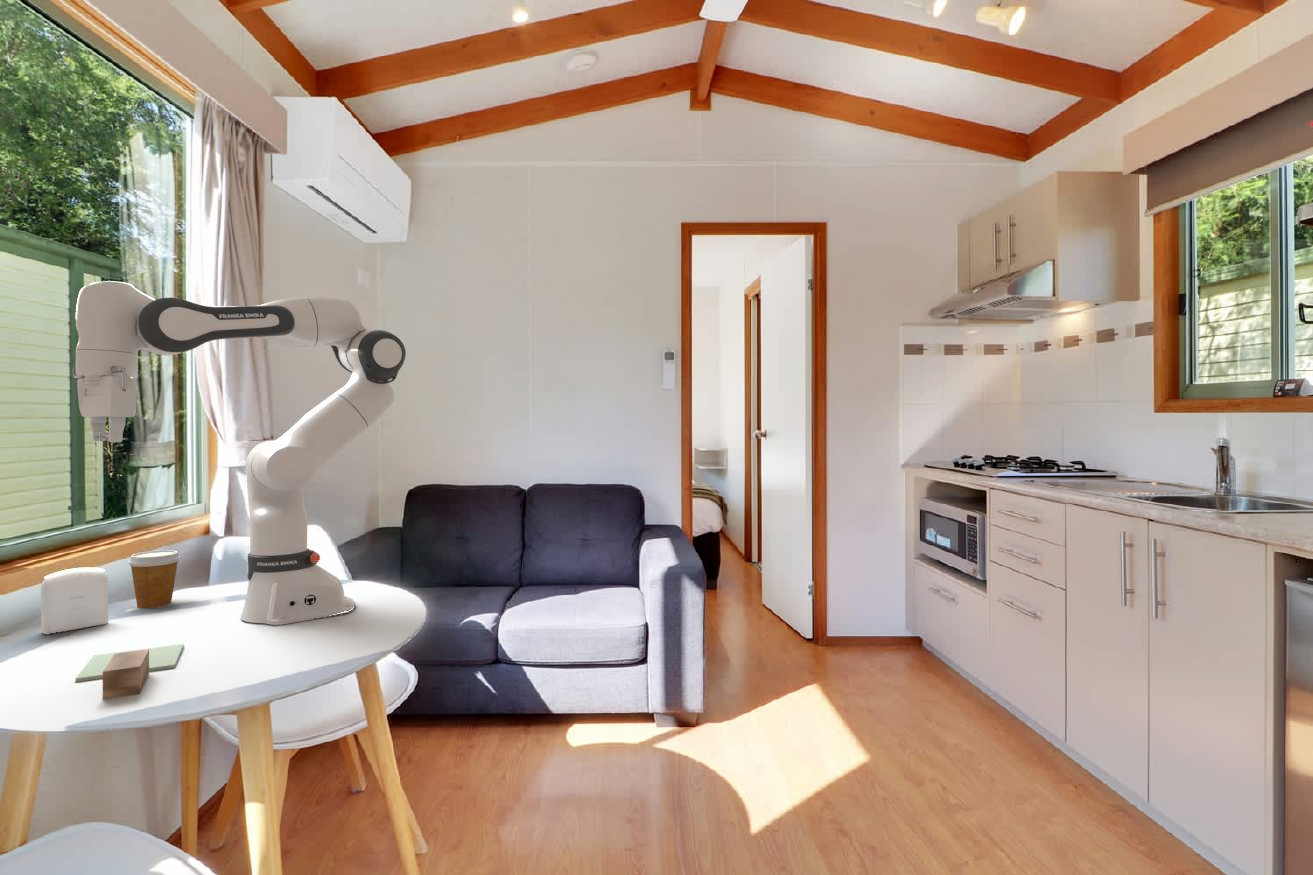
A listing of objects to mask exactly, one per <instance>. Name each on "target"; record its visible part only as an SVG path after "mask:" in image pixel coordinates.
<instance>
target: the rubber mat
mask: <svg viewBox="0 0 1313 875" xmlns="http://www.w3.org/2000/svg"><path fill="white" fill-rule="evenodd" d="M184 646H185V644H184V643H181V644H173V645H166V646H156V647H149V648H142V649H135V650H125V651H118V652H111V653H110V652H109V653H103V654H95V655H93V656H92V657H91V658H90V660H89V661H88V662H87V664H86V665H85V666H84V667H83V668H82V670H81V671H80V672H79V673H78V675H77V676H76V677H75V683H77V682H78V683H79V682H85V681H86V682H87V681H92V680H99V679H103V671H104V669H105V668H106V666H107V665H108V663H109V662H110V660H111V658H112V657H113V655H114V654H116V653H123V652H131V651H139V650H146V649H149V672H155V671H162V670H163V671H164V670H168V669H175V668H176V666H177V664H178V661H179V659H180V657H181V654H182V652H183V649H184V648H185V647H184Z"/></svg>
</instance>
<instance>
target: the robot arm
mask: <svg viewBox="0 0 1313 875" xmlns="http://www.w3.org/2000/svg"><path fill="white" fill-rule="evenodd" d="M75 311H76V312H75V328H76V331H77V335H78V340H77V341H78V342H77V344H76V347H75V365H74V366H73V369H72V376H73V378H75V379H77V380H76V383H77V384H76V385H77V387H76V388H77V398H78V399H77V400H78V408H79V411H80V412H79V413H80V414H81V416H82V417H84V418H89V425H90V428H91V431H92V432H91V433H92V441H94V442H106V441H108V442H109V443H122V442H123V437H124V436H123V434H124V429H125V426H126V423H127V422H126V419H127V418H134V417H135V416H136V413H137V394H136V392H137V391H136V385H135V384H136V382H135V379H136V380H137V379H139V374H138V373H139V351H140V350H141V351H144V352H145V351H146V352H149V353H153V354H155V355H160V356H175V355H178V354H182V353H185V352H189V351H192V350H193V349H196V348H198V347H200V346H202V345H203V344H206V343H208V342H211V341H217V340H231V339H233V340H234V339H249V338H250V339H251V338H252V339H253V338H256V339H257V338H258V339H266V340H269V341H271V342H272V343H273V344H275V345H277V346H278V347H289V348H312V347H323V346H330V347H331V350H332V352H333V353H334V356H335V359H336V362H337V363H338V364H339V365H340V366H341V368H343V369H344V370H345V371H347V372H349V373H351V376H350V378H349V380H348V381H347V382H346V383H345V384H344V386H342V387H340V388H338V390H336V391H335V392H333V393H332V394H330V396H328V397H327V398H325V399H324V400H323V401H321V402H320V403H318V404H317V405H315V407H314V408H312V409H311V410H310V411H307V412H306V413H305V414H304V415H303V416H302V417H301V418H300V419H299V420H298V421H297V422H296V423H295V424H294V425H293V426H292V427H291V428H290V429H289V430H287V431H286V432H285V433H284V434H282V435H280V437H278V438H277V439H275V440H266V441H263V442H261V443H258V444H257V445H256V446H253V448H252V449H251V450H250V452H249V453H248V455H247V457H246V461H245V462H246V463H245V467H246V468H245V471H246V488H247V497H248V509H249V521H250V522H249V524H250V525H249V527H250V528H249V530H250V531H249V533H250V534H249V537H250V538H249V553H248V554H247V559H246V576H247V579H248V582H247V583H248V584H247V590H246V591H247V592H246V597H245V600H244V605H243V609H242V612H241V615H240V619H241V621H244V622H247V623H253V624H266V625H272V626H280V625H287V624H293V623H298V622H305V621H310V620H309V619H311V620H315V619H314V618H317V619H321V617H323V618H326V617H325V616H329V617H331V616H330V615H333V614H337V613H341V612H344V611H349V610H351V609H352V608H353V607H354V606H355V601H354V599H353V598H351V597H349V596H346V595H345V591H344V586H343V583H342V582H341V580H340V579H339V578H338V577H337V576H335V575H334V574H332V573H331V572H329V571H327V570H326V569H324V568H322V567H321V566H319V565H317V564H318V563H319V562H320V560H321V556H320V554H319V553H318V552H316V551H315V550H314V549H313V550H312V549H310V548H308V512H307V508H306V503H305V497H304V490H303V487H305V486H306V485H308V484H309V483H310V482H311V481H312V480H313V478H314V477H316V475H318V473H320V472H321V471H322V470H323V469H324V468H325V467H326V466H327V465H328V464H329V463H330V462H331V461H332V460H333V459H334V457H335V456H336V455H338V453H340V451H341V450H342V449H344V447H346V446H347V445H348V444H350V443H351V442H353V441H354V439H356V438H357V437H359V436H360V435H361V434H362V433H363V432H365V431H366V430H367V429H368V428H369V427H371V426H372V425H373V424H374V423H375V422H376V421H377V420H379V418H381V416H382V415H384V414H385V412H386V411H387V410H388V409H389V408H390V407H391V405H392V404H393V402H394V399H395V393H394V391H393V388H392V386H391V384H390V383H392V382H394V381H395V380H396V378H397V376H398V373H399V371H400V370H401V368H402V367H403V365H404V362H405V360H406V356H407V355H406V353H407V352H406V347H405V345H404V343H403V342H402V340H401V339H400V338H399V337H398V336H397V335H395V334H393V333H392V332H389V331H386V330H382V329H381V330H380V329H378V330H377V329H367V328H366V327H365V326H364V325H363V323H362V322H361V316H360V312H359V310H358V308H357V307H356V305H354V304H353V303H352V302H350V301H348V300H346V299H340V298H336V297H335V298H332V297H323V296H322V297H319V296H302V297H299V296H298V297H290V298H289V297H288V298H282V299H278V300H273V301H269V302H266V303H262V304H257V305H240V306H232V305H231V306H229V305H228V306H208V305H201V304H198V303H195V302H192V301H189V300H186V299H182V298H178V297H160V298H157V299H154V298H152V297H150V296H148V295H147V294H145V293H143V292H142V291H140V290H138V289H137V288H135V287H134V285H133V284H131V283H127V282H124V281H123V282H122V281H113V280H112V281H111V280H107V281H106V280H105V281H104V280H103V281H97V282H96V281H94V282H91V283H88V284H87V285H84V286H83V287H82V288H81V289H80V290H79V293H78V297H77V302H76V309H75ZM107 418H108V425H109V428H108V429H109V430H108V432H107V431H106V423H107ZM354 608H355V607H354Z"/></svg>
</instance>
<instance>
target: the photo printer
mask: <svg viewBox="0 0 1313 875" xmlns="http://www.w3.org/2000/svg"><path fill="white" fill-rule="evenodd" d="M108 579H109V577H108V575H107V572H106V570H105V569H104V568H100V567H87V566H85V567H76V568H68V569H63V570H59V571H56V572H53V573H49V574H48V575H44V576H43V581H42V582H41V585H40V586H41V587H40V605H41V606H40V607H41V608H40V611H41V612H40V616H41V618H40V620H41V621H40V622H41V623H40V624H41V634H42V633H44V634H43V635H45V634H47V635H51V634H50V633H53V634H57V633H56V632H58V633H61V632H62V631H63V632H67V631H74V630H78V629H84V628H89V627H96V626H102V625H106V624H108V623H109V585H108V584H109V580H108Z"/></svg>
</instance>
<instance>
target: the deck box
mask: <svg viewBox="0 0 1313 875" xmlns="http://www.w3.org/2000/svg"><path fill="white" fill-rule="evenodd" d="M145 649H146V650H140V649H138V650H139V651H132V650H130V651H131V652H125V651H122V652H123V653H117V652H115V653H116V654H114V655H113V657H112V658H111V660H110V662H109V663H108V665H107V666H106V668H105V669H104V671H103V678H102V700H103V701H104V700H108V699H109V700H110V699H116V698H121V697H127V696H133V695H140V694H141V693H142V690H143V688H144V686H145V684H146V682H147V680H148V678H149V676H150V671H149V649H148V648H145ZM148 675H149V676H148Z"/></svg>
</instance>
